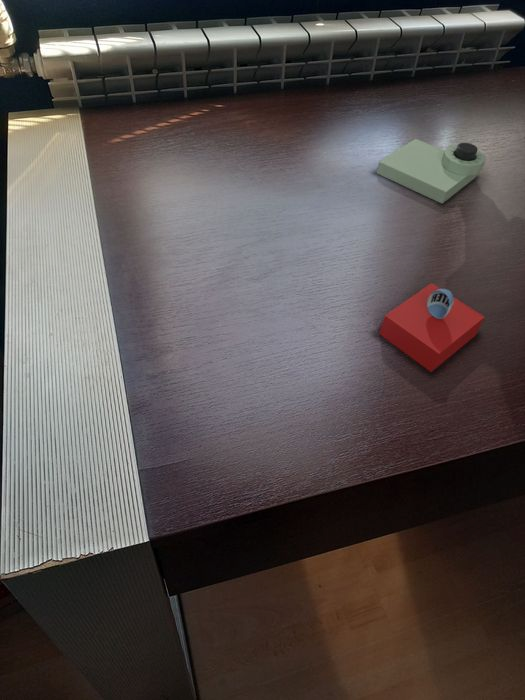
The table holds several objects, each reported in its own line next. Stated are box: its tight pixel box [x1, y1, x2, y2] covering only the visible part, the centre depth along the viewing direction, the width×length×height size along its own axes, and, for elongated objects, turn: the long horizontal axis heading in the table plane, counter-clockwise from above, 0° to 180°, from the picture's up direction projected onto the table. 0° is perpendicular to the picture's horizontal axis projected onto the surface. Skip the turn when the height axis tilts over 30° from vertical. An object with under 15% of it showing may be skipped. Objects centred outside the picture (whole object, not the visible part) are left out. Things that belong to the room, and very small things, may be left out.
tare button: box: [454, 142, 479, 161], centre depth 77 cm, size 3×3×2 cm
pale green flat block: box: [376, 138, 486, 204], centre depth 78 cm, size 12×11×4 cm
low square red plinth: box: [379, 282, 485, 373], centre depth 55 cm, size 8×7×6 cm
